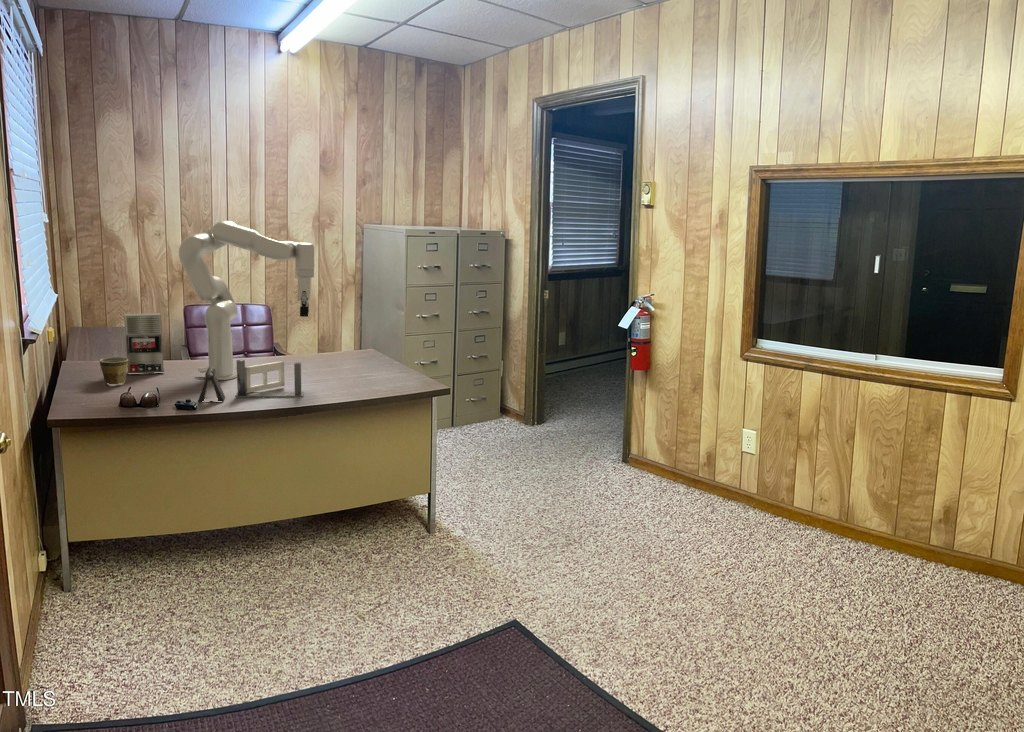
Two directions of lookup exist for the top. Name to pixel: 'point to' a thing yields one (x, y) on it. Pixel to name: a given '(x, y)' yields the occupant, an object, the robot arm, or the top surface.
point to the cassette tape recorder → (144, 343)
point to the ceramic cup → (114, 369)
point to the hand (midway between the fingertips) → (304, 314)
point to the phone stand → (215, 383)
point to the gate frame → (242, 392)
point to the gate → (264, 376)
